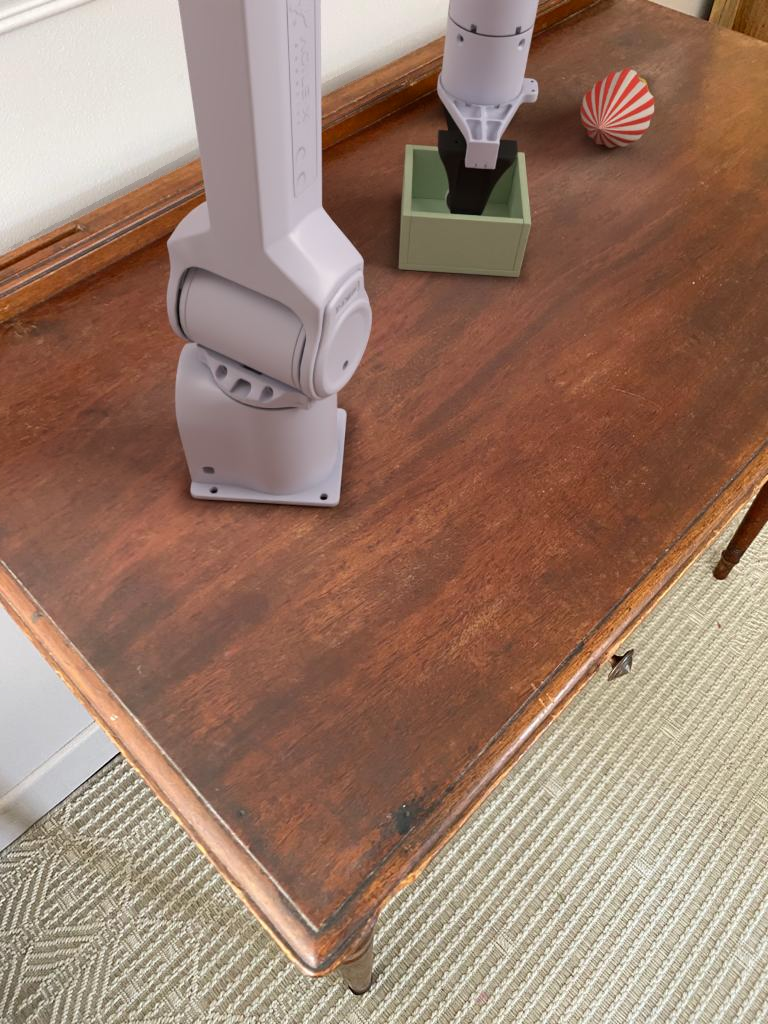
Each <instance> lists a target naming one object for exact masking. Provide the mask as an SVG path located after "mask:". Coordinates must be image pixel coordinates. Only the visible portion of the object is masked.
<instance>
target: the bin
mask: <svg viewBox="0 0 768 1024" xmlns="http://www.w3.org/2000/svg"><path fill="white" fill-rule="evenodd" d="M404 152H405V153H404V167H403V178H402V192H401V205H400V206H401V207H400V228H399V229H400V230H399V231H400V232H399V253H398V270H403V271H404V270H406V271H416V272H417V271H420V272H433V273H434V272H436V273H449V274H464V275H482V276H495V277H508V278H509V277H511V278H519V276H520V273H521V268H522V265H523V260H524V255H525V251H526V247H527V243H528V240H529V235H530V230H531V227H532V218H531V217H532V216H531V207H530V197H529V187H528V176H527V168H526V166H527V165H526V157H525V152H519V151H518V153H517V157H516V159H515V161H514V163H513V165H512V166H511V167H510V168H509V169H507V171H506V172H505V173H504V174H503V175H502V176H501V178H500V179H499V180H498V182H497V184H496V185H495V187H494V189H493V191H492V193H491V195H490V197H489V200H488V202H487V204H486V207H485V209H484V211H483V213H482V215H481V216H475V215H461V214H450V211H449V209H448V208H447V206H446V203H445V196H446V193H447V191H448V190H449V184H448V178H447V173H446V170H445V167H444V165H443V163H442V161H441V159H440V155H439V152H438V146H432V145H420V144H419V145H418V144H407V143H406V144H405V151H404Z"/></svg>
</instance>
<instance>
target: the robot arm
mask: <svg viewBox="0 0 768 1024" xmlns="http://www.w3.org/2000/svg"><path fill="white" fill-rule="evenodd" d="M177 2H178V10H179V17H180V24H181V31H182V38H183V45H184V51H185V59H186V65H187V67H186V68H187V73H188V81H189V86H190V94H191V102H192V108H193V115H194V122H195V123H194V124H195V129H196V136H197V143H198V151H199V158H200V164H201V172H202V180H203V186H204V194H205V201H203V202H202V203H200V204H199V205H197V206H196V207H195V208H193V209H192V210H191V211H190V212H188V214H186V215H185V216H184V217H183V218H182V220H181V221H180V222H179V223H178V225H177V226H176V228H175V229H174V231H173V232H172V234H171V235H170V236H169V238H168V240H167V242H166V246H167V247H166V248H167V251H168V257H169V265H170V272H169V279H168V283H167V289H166V309H167V310H166V311H167V318H168V322H169V324H170V328H171V329H172V331H173V332H174V333H175V334H176V335H177V336H178V337H179V338H180V339H182V340H184V341H186V342H187V343H185V344H184V345H183V347H182V350H181V352H180V355H179V358H178V363H177V367H176V368H177V369H176V377H175V388H174V389H175V391H174V403H175V417H176V418H175V419H176V425H177V428H178V429H177V430H178V432H179V436H180V437H179V438H180V440H181V444H182V448H183V453H184V455H185V460H186V463H187V467H188V471H189V475H190V478H191V485H190V489H189V490H190V495H191V496H192V498H194V499H198V500H212V501H227V502H228V501H229V502H230V501H231V502H245V503H263V504H279V505H294V506H295V505H296V506H311V507H328V508H329V507H330V508H333V507H336V506H338V504H340V503H339V502H340V498H341V485H342V475H343V463H344V453H345V452H344V450H345V439H346V427H347V411H346V410H345V409H344V408H340V407H338V392H339V391H341V390H342V389H343V388H345V386H346V385H347V384H348V382H349V381H350V380H351V378H353V375H354V374H355V372H356V370H357V369H358V367H359V365H360V363H361V361H362V359H363V356H364V353H365V351H366V348H367V346H368V342H369V340H370V336H371V331H372V325H373V324H372V323H373V313H372V311H373V310H372V308H371V305H370V299H369V295H368V293H367V291H366V289H365V276H364V263H365V262H364V258H363V256H362V255H361V253H360V252H359V251H358V250H357V248H356V247H355V245H353V243H352V242H351V241H350V239H348V237H347V236H346V235H345V234H344V232H343V231H342V230H341V229H340V228H339V227H338V225H337V224H336V223H335V222H334V221H333V220H332V218H331V217H330V215H329V214H328V213H327V211H326V209H324V207H323V151H322V150H323V149H322V147H323V146H322V144H323V143H322V142H323V141H322V140H323V139H322V132H323V131H322V128H323V127H322V0H177ZM448 2H449V3H448V10H447V20H446V29H445V37H444V46H443V47H444V48H443V57H442V64H441V71H440V73H439V75H438V78H437V85H436V91H437V95H438V97H439V99H440V102H441V105H442V107H443V112H444V116H445V121H446V127H447V129H438V130H437V147H438V152H439V155H440V159H441V161H442V163H443V165H444V167H445V170H446V173H447V178H448V184H449V206H450V214H461V215H475V216H481V215H482V213H483V211H484V209H485V207H486V204H487V202H488V200H489V197H490V195H491V193H492V191H493V189H494V187H495V185H496V184H497V182H498V180H499V179H500V178H501V176H502V175H503V174H504V173H505V172H506V171H507V169H509V168H510V167H511V166H512V165H513V163H514V161H515V159H516V157H517V153H518V152H519V149H518V140H516V139H515V140H514V139H501V138H502V136H503V134H504V133H505V132H506V129H507V128H508V126H509V125H510V122H512V119H513V118H514V116H515V114H516V112H518V111H517V110H518V109H519V107H520V106H521V105H522V104H525V103H527V104H531V103H532V104H533V103H535V102H537V101H538V100H537V99H538V95H539V84H538V81H537V80H536V79H534V78H530V77H529V78H528V77H525V73H526V68H527V63H528V57H529V52H530V49H531V43H532V37H533V32H534V28H535V22H536V17H537V12H538V9H539V8H538V7H539V2H540V0H449V1H448ZM214 491H216V492H214ZM213 492H214V493H213ZM322 498H326V499H322Z"/></svg>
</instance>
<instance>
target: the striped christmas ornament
mask: <svg viewBox="0 0 768 1024" xmlns="http://www.w3.org/2000/svg"><path fill="white" fill-rule="evenodd" d="M581 102H582V103H581V105H580V116H581V120H580V121H581V124H582V126H583V127H584V128H585V129H586V130H587V136H588V137H589V138H590V139H593V140H594V143H596V144H597V145H604V146H605V147H606V148H610V149H612V148H615V147H619V148H624V147H627V146H629V145H630V144H631V143H634V142H636V141H638V140H639V139H641V137H642V136H643V135H644V133H646V131H647V130H648V129H649V127H650V123H651V119H652V116H653V115H654V113H655V97H654V95H652V93H651V92H650V90H649V86H648V83H647V80H646V79H645V78H642V77H639V75H638V73H637V71H635V70H634V69H630V68H624V69H622V70H620V71H618V72H610V73H608V75H607V76H606V77H605V78H603V79H602V80H598V81H596V82H595V83H594V85H593V87H592V88H591V89H590V90H589V91H587V92H586V93H585V94H584V95H583V98H582V101H581Z"/></svg>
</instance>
